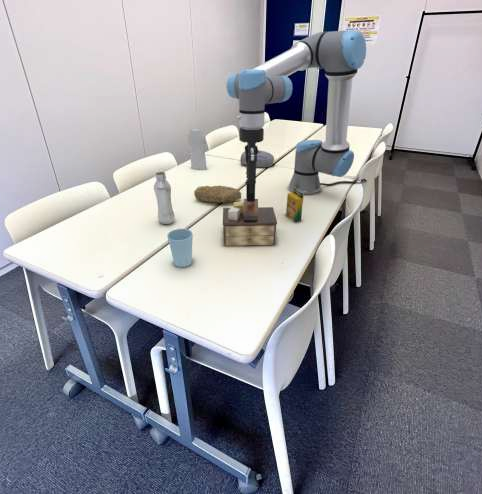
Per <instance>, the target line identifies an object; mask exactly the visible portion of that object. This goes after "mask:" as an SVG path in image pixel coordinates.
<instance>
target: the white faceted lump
mask: <svg viewBox="0 0 482 494" xmlns="http://www.w3.org/2000/svg"><path fill="white" fill-rule="evenodd" d="M230 208H231V209H229V211H228V219H230V220H238V219H239V217H240V209H237V208H234V207H230Z"/></svg>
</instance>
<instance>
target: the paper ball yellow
mask: <svg viewBox="0 0 482 494" xmlns="http://www.w3.org/2000/svg"><path fill="white" fill-rule="evenodd" d="M233 208H237V209H240V213H243V208H244V201H233Z"/></svg>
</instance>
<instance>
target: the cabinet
mask: <svg viewBox="0 0 482 494" xmlns="http://www.w3.org/2000/svg"><path fill="white" fill-rule="evenodd" d="M231 208H232V207H222V227H223V228H222V229H223V246H224V247H228V246H230V247H231V246H232V247H233V246H234V247H237V246H276V238H277V237H276V236H277V225H278V221H277V216H276V213H275V209H274V207H273V206H262V207H261V206H260V207H259V206H258V220H244V216H243V213H240V217H239V219H238V220H230V219H228V211H229V209H231Z"/></svg>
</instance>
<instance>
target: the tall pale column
mask: <svg viewBox="0 0 482 494" xmlns="http://www.w3.org/2000/svg"><path fill="white" fill-rule="evenodd" d="M187 138H188V143H189V149H190V157H189V158H190V164H191V165H190V166H191V167H190V169H195V170H201V171H202V170H203V171H206V170H207V157H206V151H205V149H206V148H205V146H206V145H205V144H206V136H205V134H204V132H203V130H202V129H198V128H194V129H189V134H188V135H187Z"/></svg>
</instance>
